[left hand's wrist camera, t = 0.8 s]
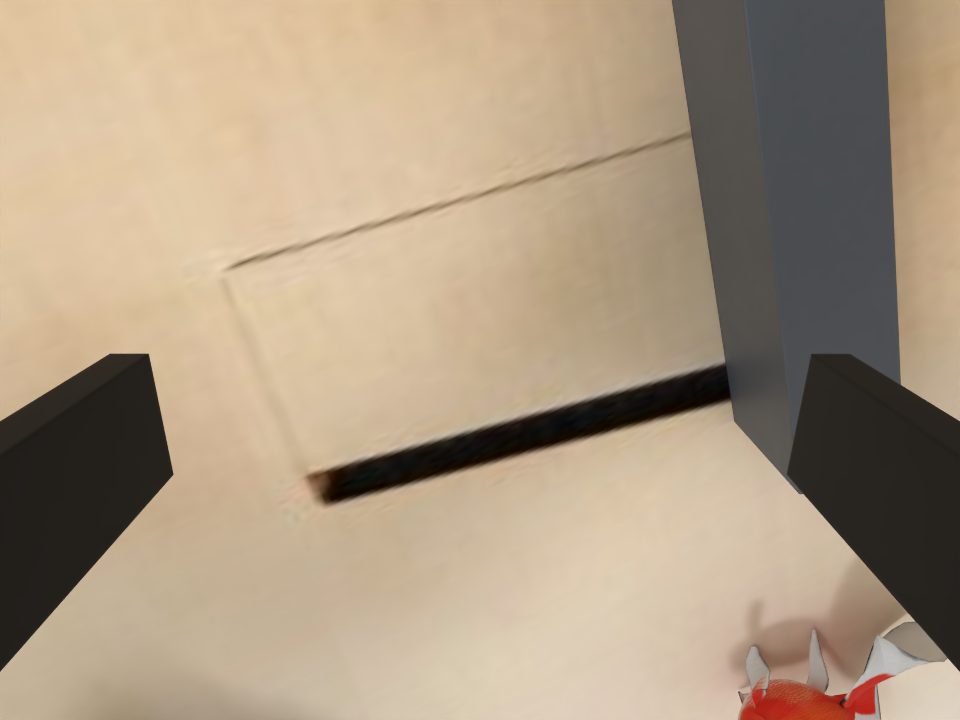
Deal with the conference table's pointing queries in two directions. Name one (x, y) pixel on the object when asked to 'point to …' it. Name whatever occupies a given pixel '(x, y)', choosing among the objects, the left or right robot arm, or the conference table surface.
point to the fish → (804, 707)
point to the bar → (793, 194)
